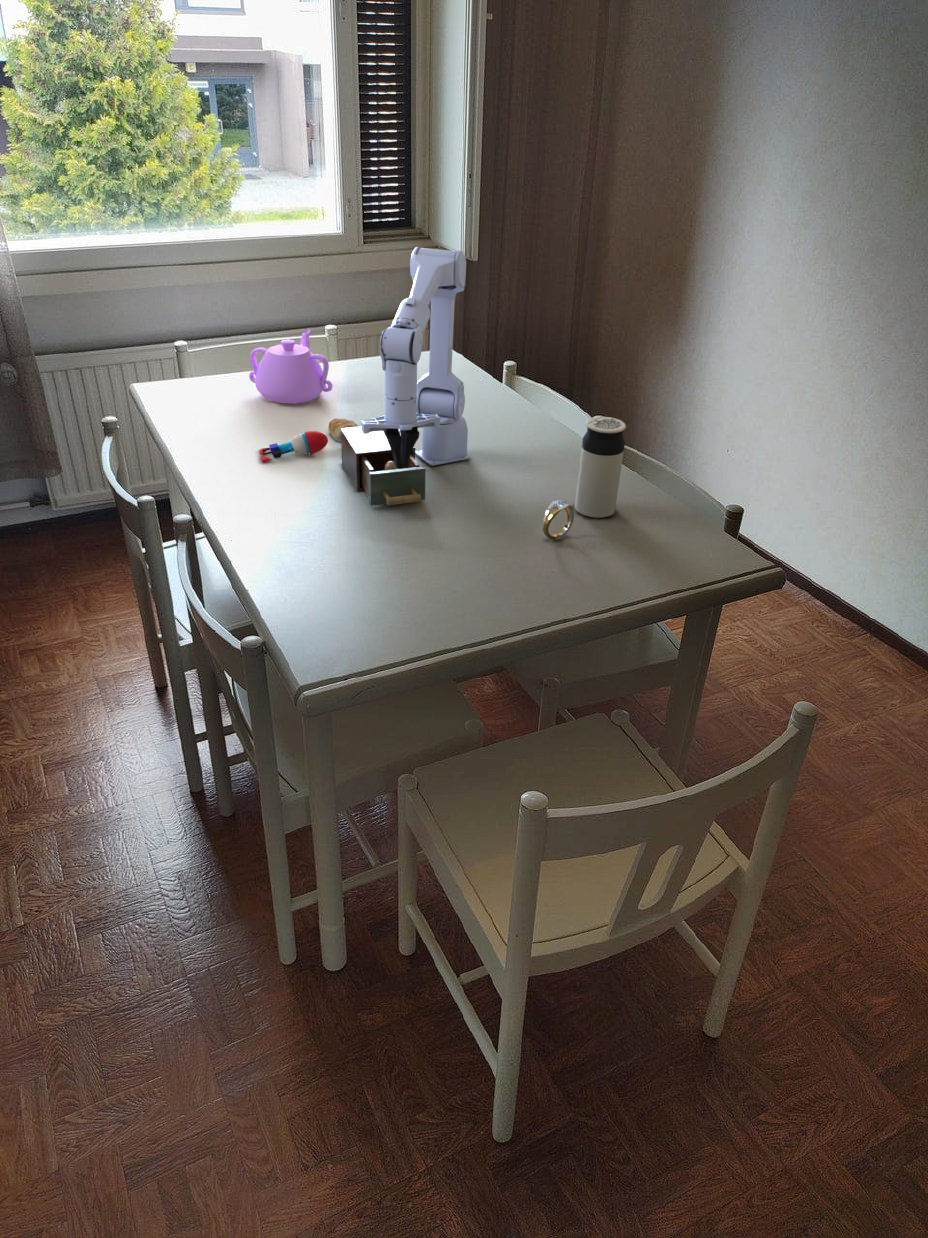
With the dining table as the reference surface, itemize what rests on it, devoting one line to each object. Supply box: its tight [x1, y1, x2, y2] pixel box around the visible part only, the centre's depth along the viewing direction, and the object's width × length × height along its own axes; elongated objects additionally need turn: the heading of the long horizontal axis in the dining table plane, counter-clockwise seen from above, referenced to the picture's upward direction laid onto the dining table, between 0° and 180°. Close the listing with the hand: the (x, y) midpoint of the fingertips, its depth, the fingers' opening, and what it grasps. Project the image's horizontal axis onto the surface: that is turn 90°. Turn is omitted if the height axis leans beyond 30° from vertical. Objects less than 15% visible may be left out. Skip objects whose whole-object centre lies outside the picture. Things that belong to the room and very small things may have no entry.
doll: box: [383, 461, 398, 471], centre depth 179 cm, size 4×4×6 cm
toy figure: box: [258, 430, 329, 463], centre depth 196 cm, size 8×5×15 cm
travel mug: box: [574, 416, 627, 519], centre depth 175 cm, size 8×8×18 cm
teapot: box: [248, 328, 333, 404], centre depth 226 cm, size 22×22×14 cm
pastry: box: [328, 418, 360, 443], centre depth 207 cm, size 9×7×4 cm
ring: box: [541, 498, 575, 541], centre depth 167 cm, size 7×3×8 cm, turn 124°
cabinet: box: [340, 426, 416, 492], centre depth 188 cm, size 14×12×8 cm
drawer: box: [359, 453, 426, 507], centre depth 179 cm, size 17×11×7 cm, turn 19°
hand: (400, 465), depth 171 cm, fingers closed
